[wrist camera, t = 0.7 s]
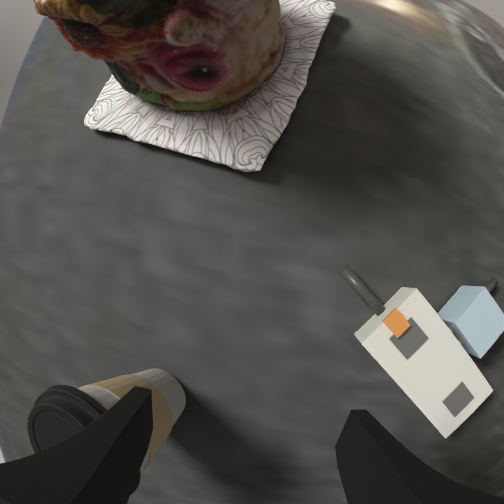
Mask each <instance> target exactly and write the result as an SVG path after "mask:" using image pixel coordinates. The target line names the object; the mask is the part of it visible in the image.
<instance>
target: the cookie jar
mask: <svg viewBox="0 0 504 504" xmlns="http://www.w3.org/2000/svg"><path fill="white" fill-rule="evenodd" d="M33 1H34V2H35V9H36V11H37V13H38V14H40V15H44V16H48V17H49V18H50V19H52V20H54V22H55V26H56V28H57V29H58V30H59V31H60V33H61V34H62V35H63V37H64V38H65V39H66V40H67V41H68V42H69V43H70V44H71V45H72V49H73V50H74V51H82V52H85V53H86V54H87V55H88V56H89V57H91V58H94V59H102V60H104V61H105V62H106V64H107V65H108V67H109V69H110V71H111V73H112V75H111V78H110V79H109V81H108V82H107V83H106V84H105V86H104V88H103V90H102V91H101V93H100V95H99V97H98V98H97V100H96V102H95V105H94V106H93V108H91V109H90V111H89V112H88V113H87V115H86V116H85V120H84V124H85V125H86V126H87V127H89V128H91V129H93V130H100V131H106V132H109V133H112V132H114V133H117V134H121V135H126V136H127V137H128V138H130V139H133V140H134V141H139V142H142V143H149V144H152V145H155V146H159V147H163V148H165V149H168V150H173V151H176V152H180V153H184V154H187V155H191V156H195V157H199V158H203V159H206V160H209V161H211V162H214V163H219V164H224V165H227V166H229V167H231V168H233V169H237V170H241V171H244V172H251V171H260V170H261V168H262V166H263V163H264V161H265V160H266V158H267V156H268V154H269V153H270V151H271V149H272V147H273V145H274V144H275V143H276V141H277V140H278V139H279V137H280V136H281V134H282V132H283V130H284V129H285V128H286V126H287V124H288V123H289V120H290V116H291V113H292V112H293V110H294V109H295V107H296V102H297V99H298V98H299V96H300V95H301V93H302V91H303V90H304V88H305V86H306V84H307V80H306V79H307V77H308V70H309V67H310V66H311V64H312V61H313V59H314V57H315V54H316V50H317V48H318V46H319V43H320V40H321V38H322V35H323V33H324V31H325V29H326V27H327V24H328V23H329V22H330V18H331V17H332V15H333V13H334V12H335V10H336V6H335V3H334V2H329V1H326V0H33Z"/></svg>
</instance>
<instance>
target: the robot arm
mask: <svg viewBox="0 0 504 504" xmlns="http://www.w3.org/2000/svg"><path fill="white" fill-rule="evenodd" d="M152 431H153V412H152V389H147V388H143V387H138V386H134V387H133V388H132V389H131V390H129V391H128V392H127V393H126V394H125V395H124V396H123V397H122V398H121V399H120V400H119V401H117V402H116V403H115V404H114V405H113V406H112V407H111V408H109V409H108V410H107V411H106V412H105V413H103V414H102V415H101V416H100V417H98V418H97V419H96V420H94V421H93V422H92V423H90V424H89V425H87V426H86V427H85V428H83V429H82V430H80V431H79V432H77V433H76V434H74V435H72V436H71V437H69V438H67V439H66V440H64V441H62V442H60V443H58V444H56V445H54V446H52V447H50V448H48V449H46V450H43V451H41V452H39V453H36V454H33V455H30V456H27V457H24V458H21V459H18V460H14V461H11V462H6V463H1V464H0V504H127V502H128V499H129V496H130V493H131V491H132V488H133V486H134V483H135V481H136V478H137V476H138V473H139V471H140V468H141V466H142V463H143V461H144V458H145V456H146V453H147V451H148V447H149V443H150V439H151V435H152ZM335 448H336V457H337V464H338V470H339V473H340V477H341V480H342V484H343V488H344V491H345V495H346V498H347V502H348V504H504V498H500V497H496V496H492V495H488V494H484V493H481V492H478V491H476V490H473V489H470V488H468V487H466V486H463V485H461V484H459V483H457V482H455V481H453V480H451V479H449V478H447V477H445V476H444V475H442V474H440V473H439V472H437V471H436V470H434V469H433V468H431V467H430V466H428V465H427V464H425V463H424V462H422V461H421V460H420V459H419V458H417V457H416V456H415V455H414V454H412V453H411V452H410V451H409V450H408V449H407V448H405V447H404V446H403V445H402V444H401V443H400V442H399V441H398V440H397V439H396V438H394V437H393V436H392V435H391V434H390V433H389V432H388V431H387V430H386V429H385V428H384V427H383V426H382V425H381V424H380V423H379V422H378V421H377V420H376V419H375V418H374V417H373V416H372V415H371V414H370V413H369V412H368V411H367V410H351V411H350V414H349V416H348V418H347V421H346V423H345V425H344V428H343V430H342V432H341V434H340V436H339V439H338V441H337V443H336V445H335Z"/></svg>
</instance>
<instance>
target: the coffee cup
mask: <svg viewBox="0 0 504 504" xmlns="http://www.w3.org/2000/svg"><path fill="white" fill-rule="evenodd" d="M134 386H138V387H143V388H147V389H152V412H153V431H152V435H151V439H150V443H149V447H148V451H147V453H146V456H145V458H144V461H143V463H142V466H141V468H140V471H139V473H138V476H137V478H136V481H135V483H134V486H133V488H132V491H131V493H130V495H131V494H132V493H133V492H134V491H135V490H136V489H137V487H138V485H139V481H140V472H141V471H143V470H144V469H145V468H146V467H147V465H148V464H149V463H150V461H151V460H152V459H153V457H154V456H155V454H156V453H157V451H158V450H159V449H160V447H161V446H162V444H163V443H164V441H165V440H166V438H167V437H168V435H169V434H170V432H171V430H172V427H173V425H174V424H175V422H176V421H177V419H178V418H179V416H180V415H181V413H182V412H183V410H184V408H185V405H186V396H185V392H184V390H183V388H182V386H181V385H180V383H179V382H178V381H177V379H176V378H175V377H174V376H172V375H171V374H170V373H168V372H167V371H165V370H162V369H157V368H154V369H148V370H145V371H142V372H138V373H135V374H129V375H122V376H119V377H115V378H112V379H108V380H104V381H101V382H97V383H93V384H89V385H86V386H83V387H80V388H78V389H77V388H74V387H72V386H67V385H56V386H52V387H50V388H49V389H47V390H46V391H45V392H43V393H42V394H40V395H39V397H38V398H37V400H36V402H35V404H34V407H33V409H32V410H31V412H30V414H29V417H28V434H29V439H30V442H31V445H32V448H33V450H34V452H35V454H36V453H39V452H41V451H43V450H46V449H48V448H50V447H52V446H54V445H56V444H58V443H60V442H62V441H64V440H66V439H67V438H69V437H71V436H72V435H74V434H76V433H77V432H79V431H80V430H82V429H83V428H85V427H86V426H87V425H89V424H90V423H92V422H93V421H94V420H96V419H97V418H98V417H100V416H101V415H102V414H103V413H105V412H106V411H107V410H108V409H109V408H111V407H112V406H113V405H114V404H115V403H116V402H117V401H119V400H120V399H121V398H122V397H123V396H124V395H125V394H126V393H127V392H128V391H129V390H131V389H132V388H133V387H134Z"/></svg>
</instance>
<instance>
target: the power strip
mask: <svg viewBox="0 0 504 504" xmlns="http://www.w3.org/2000/svg"><path fill="white" fill-rule="evenodd" d="M339 274H340V275H341V276H342V278H343V279H344V280H345V281H346V282H347V283H348V284H349V285H350V286H351V287H352V288H353V290H354V291H355V292H356V293H357V294H358V295H359V296H360V297H361V298H362V300H363V301H364V302H365V303H366V304H367V305H368V306H369V307H370V309H371V310H372V311H373V312H374V313H375V314H374V315H373V316H372V317H371V318H370V319H369V320H368V321H367V322H366V323H365V324H364V325H363V326H362V327H361V328H360V329H359V330H358V331H357V332H355V333H354V335H355V336H356V337H357V339H358V340H359V341H360V343H361V344H362V345H363V346H364V347H365V348H366V349H367V350H368V352H369V353H370V354H371V355H372V356H373V357H374V358H375V359H376V360H377V362H378V363H379V364H380V365H381V366H382V367H383V368H384V369H385V370H386V372H387V373H388V374H389V375H390V376H391V377H392V378H393V379H394V381H395V382H396V383H397V384H398V385H399V386H400V387H401V388H402V390H403V391H404V392H405V393H406V394H407V395H408V396H409V398H410V399H411V400H412V401H413V402H414V403H415V404H416V406H417V407H418V408H419V409H420V410H421V411H422V412H423V413H424V415H425V416H426V417H427V418H428V419H429V420H430V422H431V423H432V424H433V425H434V426H435V427H436V428H437V430H438V431H439V432H440V433H441V434H442V435H443V436H444V438H445V439H446V438H447V437H448V436H449V435H450V434H451V433H452V432H453V431H454V430H456V429H457V428H458V427H459V426H460V425H461V424H462V423H463V422H464V421H465V420H466V419H467V418H468V417H469V416H470V415H471V414H472V413H473V412H474V411H475V410H476V409H477V408H478V407H479V406H480V405H481V404H482V402H483V401H484V400H485V399H486V398H487V397H488V396H489V395H490V394H491V393H492V391H493V389H492V388H491V386H490V385H489V383H488V382H487V380H486V379H485V378H484V376H483V375H482V373H481V372H480V370H479V369H478V367H477V366H476V365H475V363H474V362H473V360H472V359H471V358H470V356H469V355H468V353H467V352H466V351H465V349H464V348H463V347H462V345H461V344H460V343H459V341H458V340H457V339H456V337H455V336H454V335H453V333H452V332H451V331H450V329H449V328H448V327H447V325H446V324H445V323H444V322H443V320H442V319H441V318H440V317H439V315H438V314H437V313H436V311H435V310H434V309H433V308H432V306H431V305H430V304H429V303H428V302H427V300H426V299H425V298H424V297H423V295H422V294H421V293H420V292H419V291H418V289H417V288H407V287H401V288H400V289H399V290H398V291H397V292H396V294H395V295H394V296H393V297H392V298H391V299H390V300H389V301H388V302H387V303H386V304H385V305H383V304H382V303H381V302H380V301H379V300H378V299H377V298H376V296H375V295H374V294H373V293H372V292H371V291H370V290H369V289H368V287H367V286H366V285H365V284H364V283H363V282H362V281H361V280H360V279H359V277H358V276H357V275H356V274H355V273H354V272H353V271H352V270H351V269H350V268H349V267H348V265H347V266H346V267H345V268H343V269H342V270H341V271H340V272H339Z"/></svg>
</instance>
